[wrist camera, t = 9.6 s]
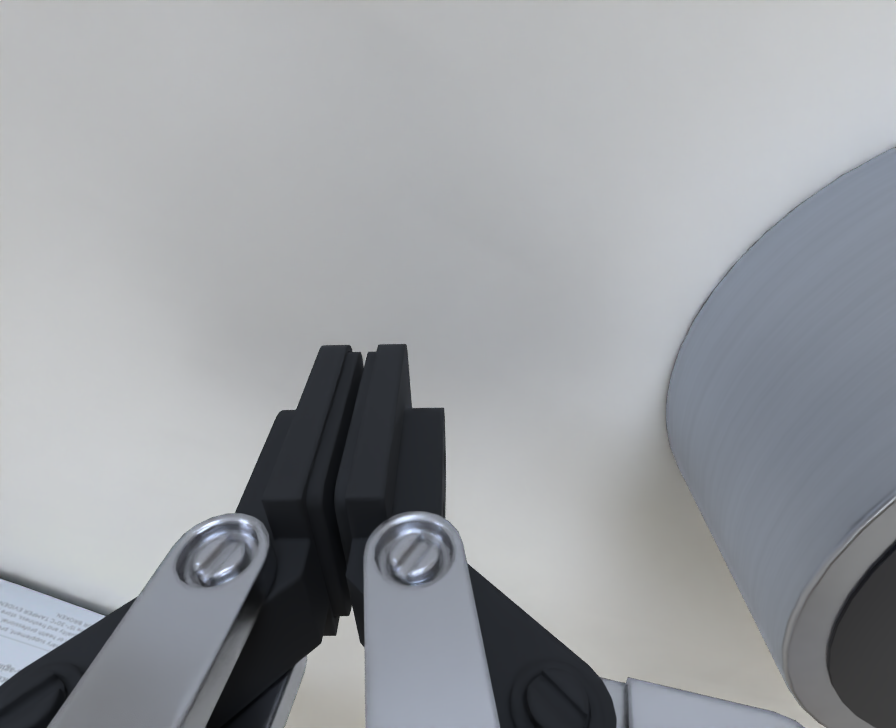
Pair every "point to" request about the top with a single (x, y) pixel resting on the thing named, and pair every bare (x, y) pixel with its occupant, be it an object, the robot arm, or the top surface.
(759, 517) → the pot
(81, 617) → the white product box
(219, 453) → the top surface
